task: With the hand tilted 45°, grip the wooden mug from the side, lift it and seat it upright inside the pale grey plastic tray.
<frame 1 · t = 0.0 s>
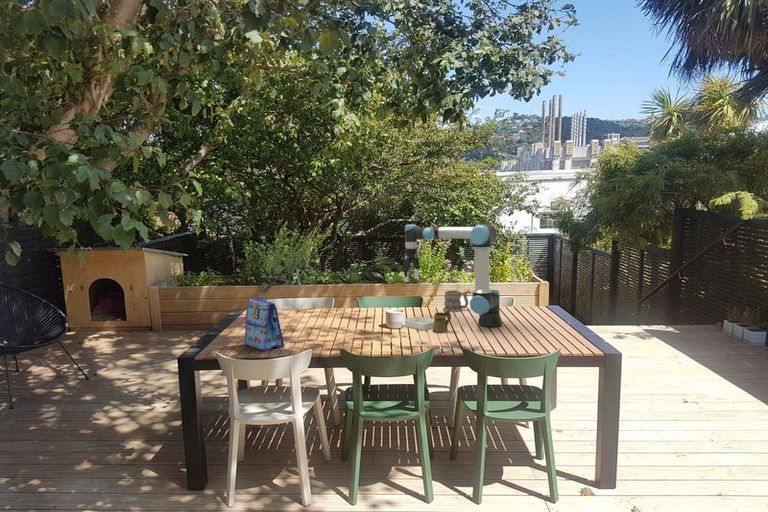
hand: (411, 280, 355), 28 cm above the table, tool pointing down, fingers open, 13 cm apart
wooden mug: (443, 331, 330), on the table
tankard: (457, 310, 391), on the table
lunch bag: (264, 346, 306), on the table
mug tray: (420, 326, 345), on the table
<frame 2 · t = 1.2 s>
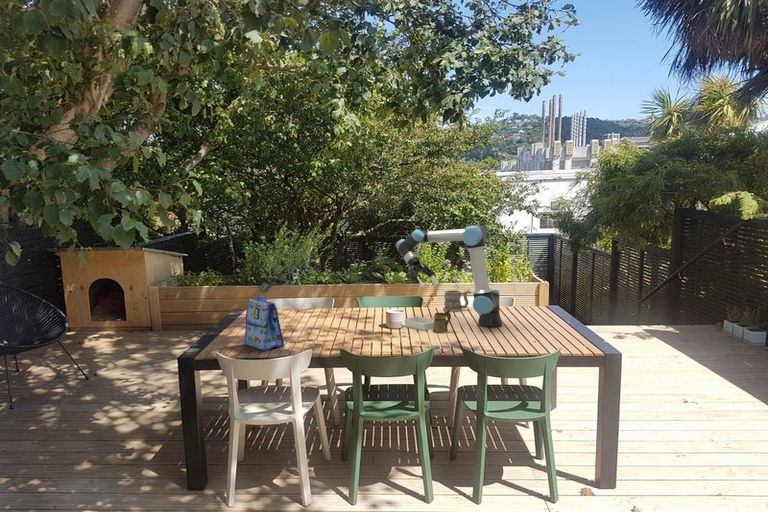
hand: (429, 285, 335), 27 cm above the table, tool tilted 45°, fingers open, 13 cm apart
nothing on the table moved.
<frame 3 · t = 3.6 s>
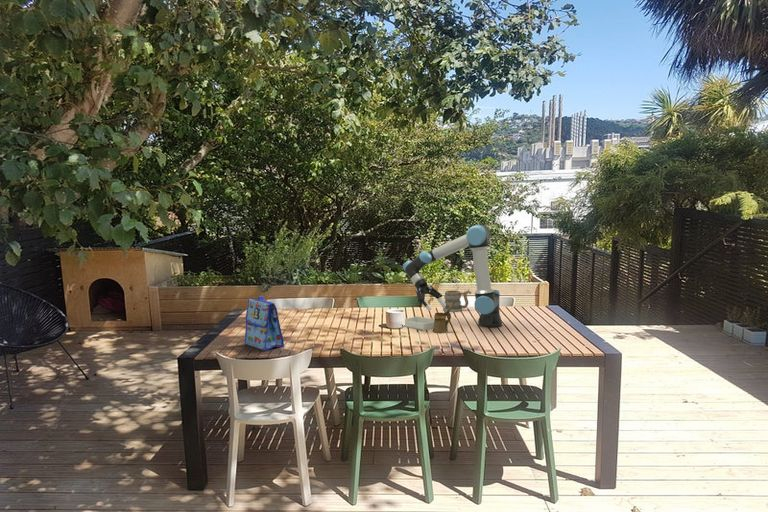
hand: (437, 308, 331), 14 cm above the table, tool tilted 45°, fingers open, 13 cm apart
nothing on the table moved.
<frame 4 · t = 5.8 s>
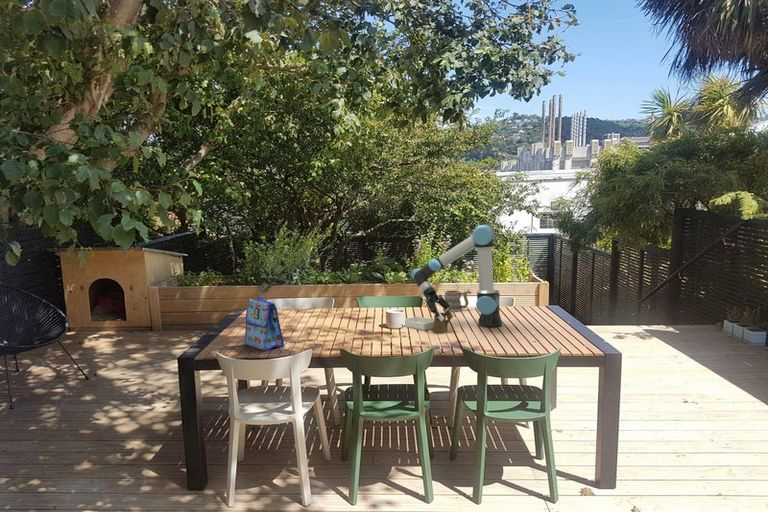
hand: (447, 318, 327), 8 cm above the table, tool tilted 45°, fingers closed on wooden mug, 9 cm apart
wooden mug: (443, 331, 330), on the table, touching gripper
everything else where it was.
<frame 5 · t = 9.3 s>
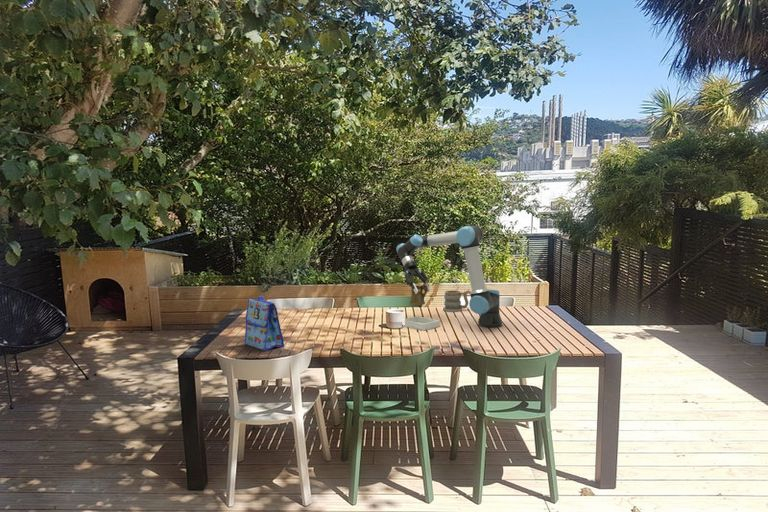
hand: (423, 291, 339), 23 cm above the table, tool tilted 45°, fingers closed on wooden mug, 8 cm apart
wooden mug: (420, 304, 343), point 14 cm above the table, touching gripper
everything else where it was.
when the fingers open (10 cm above the table, at t = 12.8 s): wooden mug drops 1 cm, resting on mug tray.
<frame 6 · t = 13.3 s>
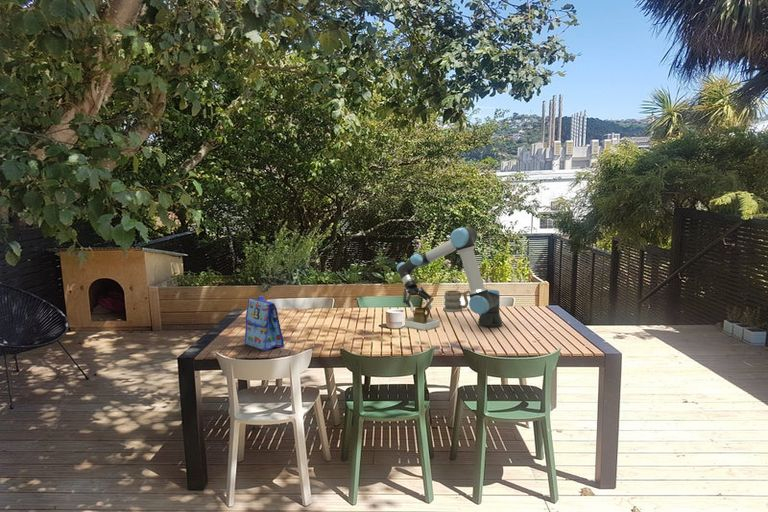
hand: (422, 309, 341), 11 cm above the table, tool tilted 45°, fingers open, 13 cm apart
wooden mug: (423, 325, 345), resting on mug tray
everything else where it was.
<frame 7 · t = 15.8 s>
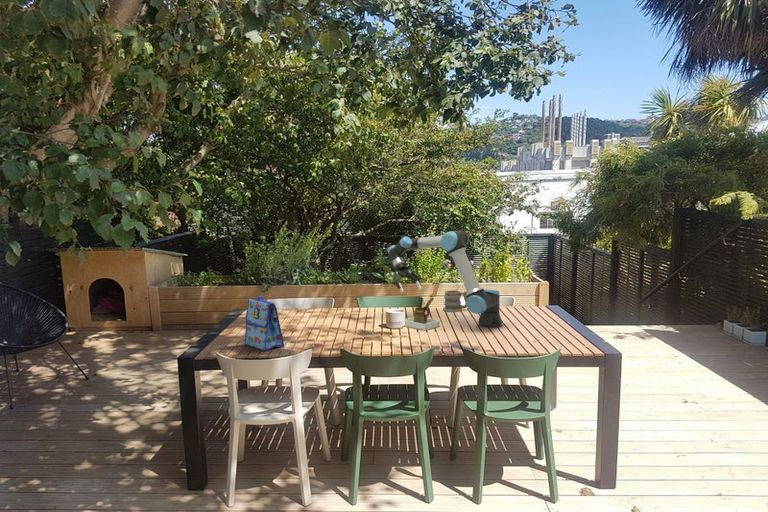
hand: (411, 291, 352), 21 cm above the table, tool tilted 45°, fingers open, 13 cm apart
nothing on the table moved.
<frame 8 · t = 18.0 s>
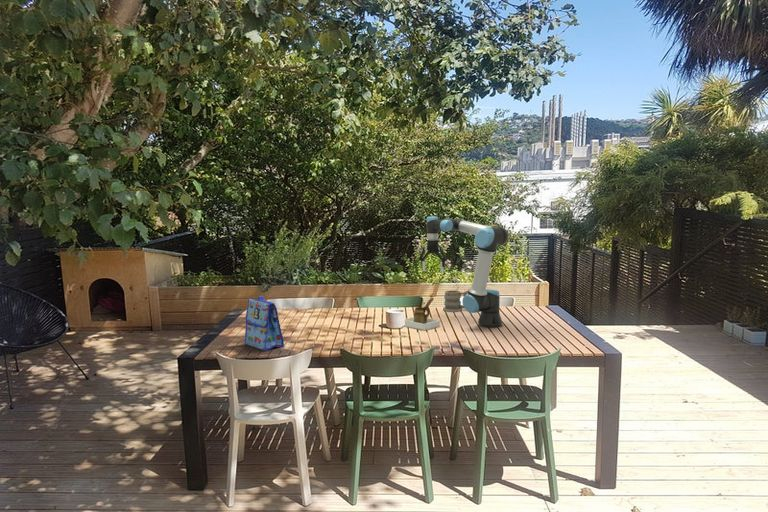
hand: (433, 271, 361), 33 cm above the table, tool pointing down, fingers open, 13 cm apart
nothing on the table moved.
at the end: wooden mug inside the target area on the mug tray (1.8 cm from its centre), point 0.4 cm above the mug tray's base; wooden mug tilted 0°; the gripper is holding nothing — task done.
